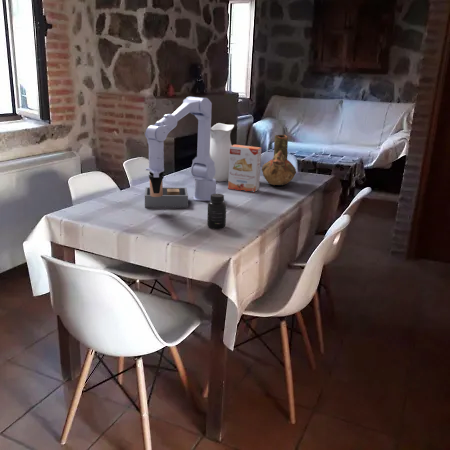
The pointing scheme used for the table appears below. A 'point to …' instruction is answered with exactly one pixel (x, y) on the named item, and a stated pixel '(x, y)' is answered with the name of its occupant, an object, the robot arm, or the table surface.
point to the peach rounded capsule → (156, 193)
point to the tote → (167, 199)
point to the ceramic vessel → (279, 164)
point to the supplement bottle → (216, 212)
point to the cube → (172, 191)
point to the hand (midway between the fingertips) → (156, 191)
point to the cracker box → (244, 168)
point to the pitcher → (220, 150)
